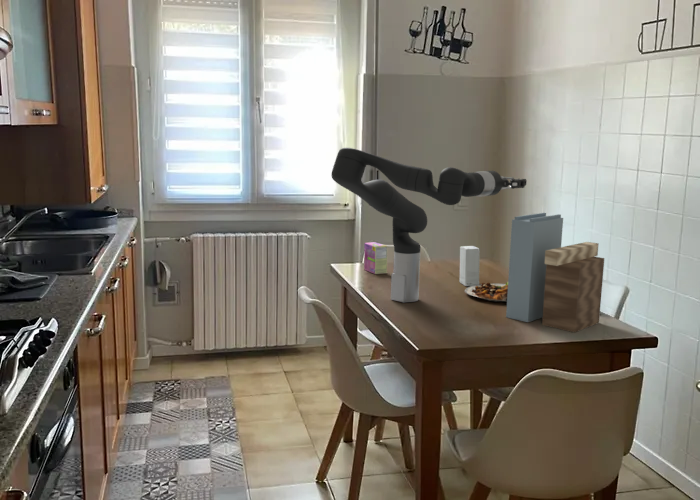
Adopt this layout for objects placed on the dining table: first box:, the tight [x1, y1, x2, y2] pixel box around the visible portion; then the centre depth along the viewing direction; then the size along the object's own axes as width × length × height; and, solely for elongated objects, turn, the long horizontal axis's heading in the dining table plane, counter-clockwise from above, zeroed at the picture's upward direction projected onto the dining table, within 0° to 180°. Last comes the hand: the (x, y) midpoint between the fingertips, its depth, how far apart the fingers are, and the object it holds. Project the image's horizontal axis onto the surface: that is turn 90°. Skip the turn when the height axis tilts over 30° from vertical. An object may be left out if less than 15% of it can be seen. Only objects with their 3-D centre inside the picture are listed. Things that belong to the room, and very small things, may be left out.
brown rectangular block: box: [545, 241, 599, 266], centre depth 215 cm, size 26×4×4 cm, turn 135°
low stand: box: [541, 256, 605, 333], centre depth 219 cm, size 16×11×21 cm
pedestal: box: [505, 212, 564, 323], centre depth 228 cm, size 18×8×33 cm, turn 135°
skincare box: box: [459, 245, 481, 287], centre depth 273 cm, size 8×6×15 cm
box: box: [363, 241, 388, 275], centre depth 294 cm, size 10×6×12 cm, turn 25°
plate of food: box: [464, 281, 508, 303], centre depth 255 cm, size 28×28×6 cm
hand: (513, 181), depth 221 cm, fingers open, 8 cm apart
